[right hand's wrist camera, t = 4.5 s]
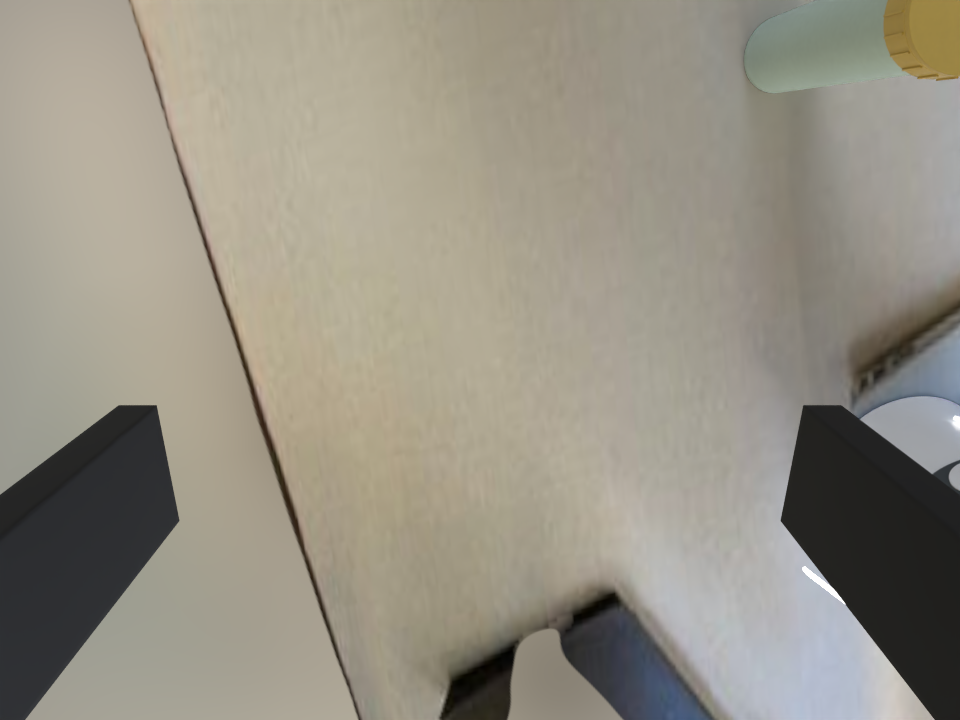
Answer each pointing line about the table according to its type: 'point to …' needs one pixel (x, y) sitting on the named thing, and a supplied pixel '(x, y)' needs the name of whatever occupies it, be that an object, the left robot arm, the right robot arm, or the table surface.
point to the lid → (924, 37)
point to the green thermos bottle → (820, 47)
